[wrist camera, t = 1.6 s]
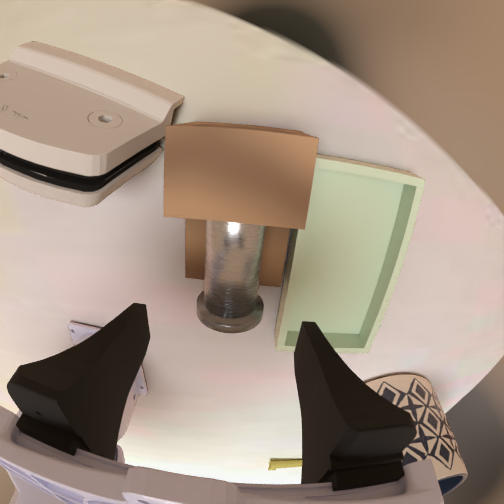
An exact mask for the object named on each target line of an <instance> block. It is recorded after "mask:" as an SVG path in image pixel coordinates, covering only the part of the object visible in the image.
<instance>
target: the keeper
mask: <svg viewBox="0 0 504 504" xmlns="http://www.w3.org/2000/svg"><path fill="white" fill-rule="evenodd" d="M318 141H319V138H316V137H313V136H310V135H308V134H305V133H303V132H301V131H296V130H289V129H281V128H272V127H263V126H253V125H241V124H228V123H211V122H190V123H184V124H176V125H167V126H166V132H165V155H164V217H176V218H186V228H185V269H186V278H194V279H203V280H204V271H205V237H206V220H212V221H223V222H233V223H244V224H254V225H264V226H266V233H265V241H264V249H263V257H262V265H261V273H260V281H259V285H263V286H275V287H281V282H282V276H283V270H284V264H285V257H286V251H287V245H288V239H289V232H290V228H293V229H302V230H305V226H306V220H307V214H308V208H309V202H310V195H311V189H312V183H313V176H314V169H315V163H316V156H317V148H318Z"/></svg>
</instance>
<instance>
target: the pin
mask: <svg viewBox="0 0 504 504" xmlns="http://www.w3.org/2000/svg"><path fill="white" fill-rule="evenodd" d="M265 233H266V226H264V225H254V224H244V223H233V222H223V221H212V220H206V237H205V271H204V291H203V292H201V293H200V294H199V296H198V298H197V316H198V318H199V319H200V321H201V322H202V323H203V324H204V325H206V326H207V327H209V328H211V329H213V330H216V331H219V332H224V333H240V332H245V331H248V330H250V329H252V328H254V327H255V326H257V325H258V324H259V323H260V321H261V319H262V314H263V307H264V304H263V300H262V299H261V297H260V296H259V295H258V289H259V281H260V273H261V265H262V257H263V249H264V241H265Z"/></svg>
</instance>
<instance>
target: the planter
mask: <svg viewBox="0 0 504 504" xmlns="http://www.w3.org/2000/svg"><path fill="white" fill-rule="evenodd" d="M365 384H366V385H368V386H369V387H370V388H371V389H373V390H374V391H375V392H376V393H378V394H379V395H381V396H382V397H383V398H385V399H386V400H388V401H390V402H391V403H393V404H394V405H396V406H398V407H400V408H402V409H404V410H405V411H407V412H409V413H410V414H411V416H412V418H413V421H414V424H415V427H416V430H417V434H416V437H415V438H414V440H413V441H412V442H411V443H410V444H409V445H408V446H407V447H406V448H405V449H404V450H403V451H402V452H403V455H404V459H403V460H402V461H401V462H402V466H405V465H407V464H410V463H413V462H417V461H421V460H425V459H431V461H432V464H433V467H434V470H435V473H436V476H437V480H438V483H439V486H440V490H441V493H442V496H444V495H446V494H447V493H449V492H450V491H452V490H454V489H455V488H456V487H457V486H459V485H460V484H461V483H462V482H463V481H464V480H465V479H466V478H467V475H468V474H467V471H466V468H465V465H464V462H463V459H462V456H461V453H460V451H459V448H458V446H457V443H456V441H455V438H454V436H453V433H452V431H451V428H450V426H449V423H448V421H447V419H446V416H445V414H444V412H443V410H442V407H441V405H440V403H439V401H438V398H437V396H436V394H435V392H434V390H433V388H432V386H431V384H430V383H429V382H428V380H426V379H424V378H423V377H420V376H417V375H409V374H407V375H394V376H388V377H384V378H379V379H376V380H373V381H370V382H367V383H365Z"/></svg>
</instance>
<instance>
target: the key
mask: <svg viewBox="0 0 504 504" xmlns="http://www.w3.org/2000/svg"><path fill="white" fill-rule="evenodd" d="M300 466H302V460H290V461H271V462H270V463H269V468H268V470H276V468H287V467H300Z"/></svg>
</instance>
